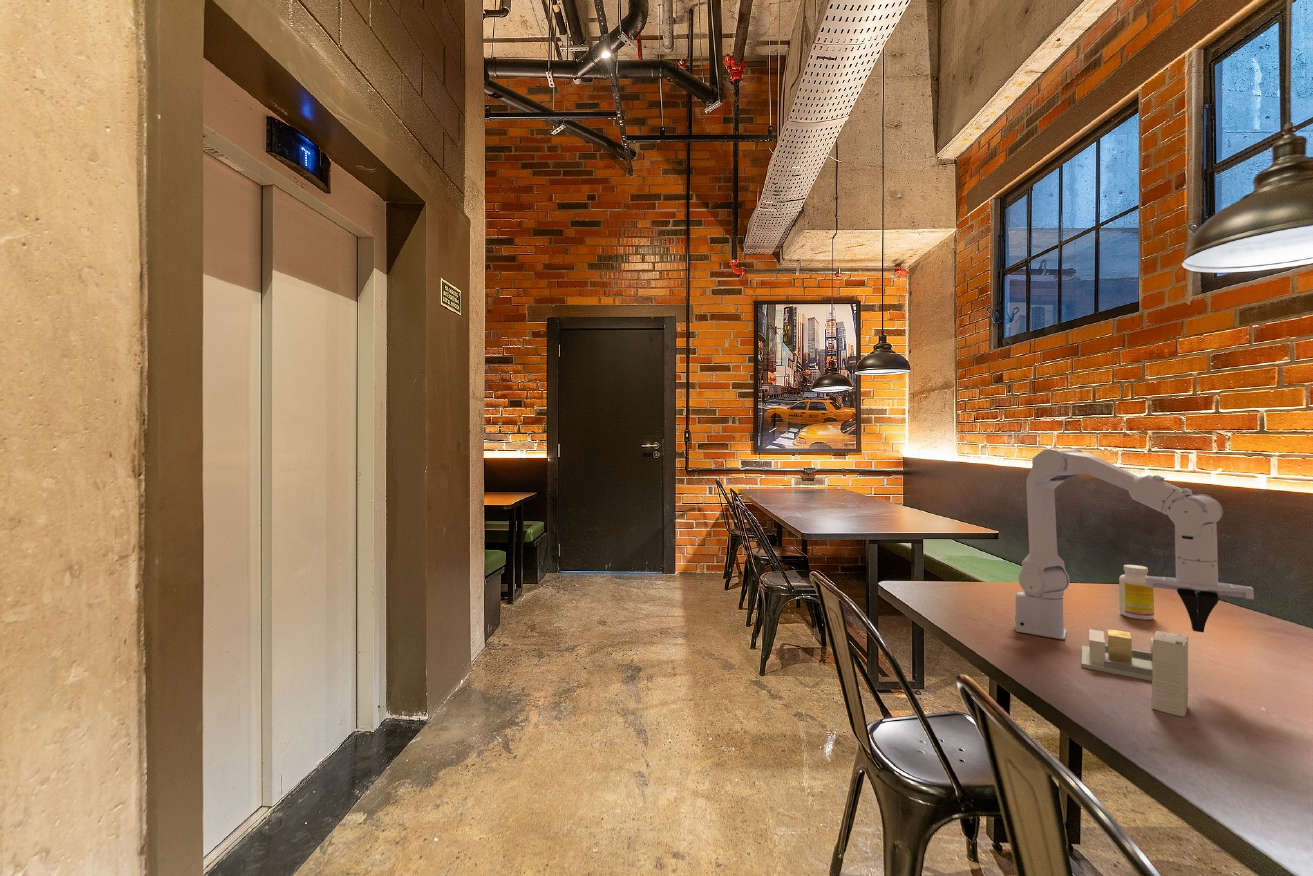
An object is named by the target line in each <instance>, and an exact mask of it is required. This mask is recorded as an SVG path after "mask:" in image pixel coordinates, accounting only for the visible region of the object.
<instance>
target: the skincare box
mask: <svg viewBox="0 0 1313 876" xmlns="http://www.w3.org/2000/svg"><path fill="white" fill-rule="evenodd" d="M1152 638H1153V655H1152V681H1151V708H1152V709H1153V710H1156V711H1159V712H1163V713H1167V714H1169V715H1173V716H1178V717H1183V718H1184V717H1186V713H1187V709H1188V705H1189V704H1188V703H1189V672H1188V671H1189V637H1188V636H1187V635H1183V634H1177V633H1171V632H1167V631H1166V632H1165V631H1159V630H1156V631H1155V633H1154V636H1153V637H1152Z"/></svg>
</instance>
